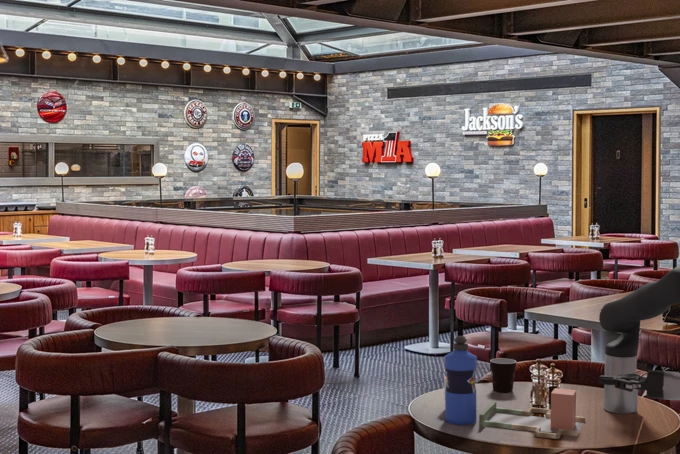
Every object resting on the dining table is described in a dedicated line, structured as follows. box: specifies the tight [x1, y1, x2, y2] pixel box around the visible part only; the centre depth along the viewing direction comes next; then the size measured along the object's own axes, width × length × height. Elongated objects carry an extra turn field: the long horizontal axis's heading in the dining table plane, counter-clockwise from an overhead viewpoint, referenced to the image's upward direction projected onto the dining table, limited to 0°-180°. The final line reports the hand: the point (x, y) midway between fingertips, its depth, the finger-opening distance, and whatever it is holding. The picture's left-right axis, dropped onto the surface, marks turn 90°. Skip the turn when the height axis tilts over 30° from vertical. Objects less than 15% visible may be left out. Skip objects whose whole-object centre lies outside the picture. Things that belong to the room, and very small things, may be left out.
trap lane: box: [478, 400, 586, 440], centre depth 253 cm, size 27×25×4 cm
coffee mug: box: [489, 357, 517, 394], centre depth 295 cm, size 12×9×10 cm
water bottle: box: [444, 335, 478, 426], centre depth 258 cm, size 9×9×25 cm
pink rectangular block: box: [550, 387, 577, 430], centre depth 249 cm, size 6×6×10 cm
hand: (599, 379), depth 245 cm, fingers closed
